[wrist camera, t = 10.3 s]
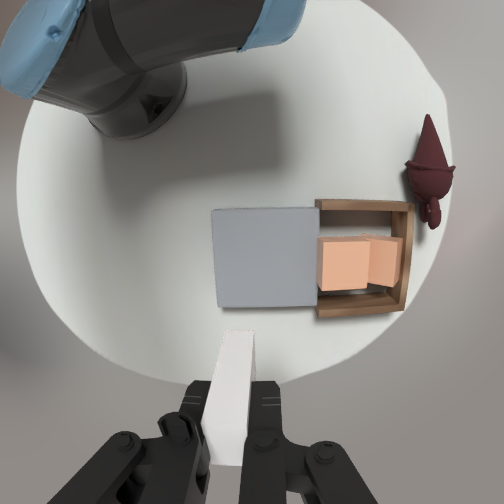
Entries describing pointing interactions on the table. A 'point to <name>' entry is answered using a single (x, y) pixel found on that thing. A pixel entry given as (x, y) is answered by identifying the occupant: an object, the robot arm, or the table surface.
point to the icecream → (430, 174)
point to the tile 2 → (384, 259)
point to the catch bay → (397, 294)
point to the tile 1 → (342, 262)
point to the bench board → (265, 256)
